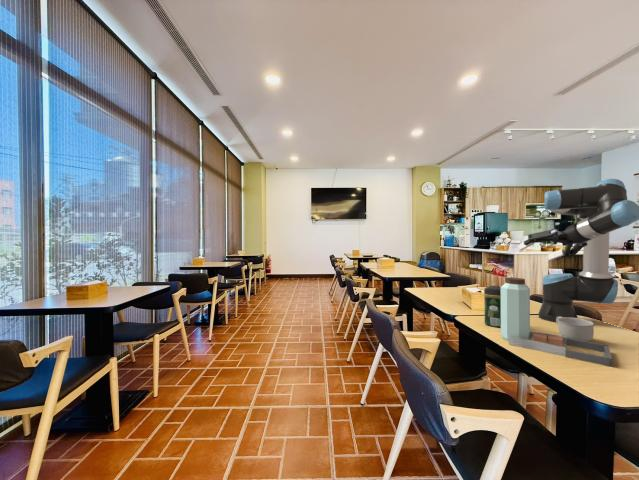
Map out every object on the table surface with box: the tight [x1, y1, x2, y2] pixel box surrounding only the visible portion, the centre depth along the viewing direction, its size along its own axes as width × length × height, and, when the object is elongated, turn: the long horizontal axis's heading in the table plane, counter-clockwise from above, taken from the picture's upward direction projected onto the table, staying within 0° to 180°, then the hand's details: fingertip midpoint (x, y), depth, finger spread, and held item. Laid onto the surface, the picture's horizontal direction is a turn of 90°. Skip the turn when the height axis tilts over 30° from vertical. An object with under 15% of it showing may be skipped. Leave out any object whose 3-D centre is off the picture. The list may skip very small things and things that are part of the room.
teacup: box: [555, 317, 595, 342], centre depth 113 cm, size 14×11×8 cm
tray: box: [564, 338, 613, 367], centre depth 98 cm, size 11×16×2 cm
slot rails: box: [508, 330, 568, 357], centre depth 107 cm, size 16×15×3 cm
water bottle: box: [500, 277, 531, 342], centre depth 112 cm, size 10×10×25 cm
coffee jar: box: [483, 285, 501, 328], centre depth 133 cm, size 10×8×19 cm
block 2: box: [547, 335, 564, 346], centre depth 104 cm, size 4×4×4 cm
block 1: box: [532, 333, 548, 343], centre depth 107 cm, size 4×4×4 cm
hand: (534, 252), depth 121 cm, fingers open, 13 cm apart
